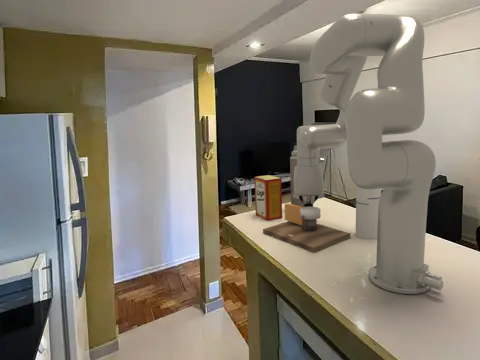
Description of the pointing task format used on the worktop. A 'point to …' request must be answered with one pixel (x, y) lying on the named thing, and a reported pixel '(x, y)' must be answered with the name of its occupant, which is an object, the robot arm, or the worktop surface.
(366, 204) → the cylindrical container
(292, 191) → the thermos bottle
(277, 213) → the baking soda box
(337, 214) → the worktop surface
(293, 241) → the post base
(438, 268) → the worktop surface
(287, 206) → the cap
